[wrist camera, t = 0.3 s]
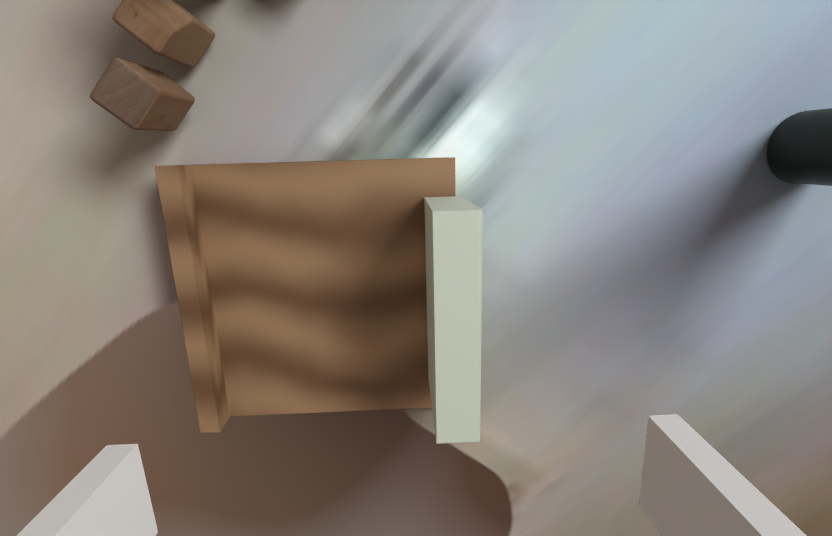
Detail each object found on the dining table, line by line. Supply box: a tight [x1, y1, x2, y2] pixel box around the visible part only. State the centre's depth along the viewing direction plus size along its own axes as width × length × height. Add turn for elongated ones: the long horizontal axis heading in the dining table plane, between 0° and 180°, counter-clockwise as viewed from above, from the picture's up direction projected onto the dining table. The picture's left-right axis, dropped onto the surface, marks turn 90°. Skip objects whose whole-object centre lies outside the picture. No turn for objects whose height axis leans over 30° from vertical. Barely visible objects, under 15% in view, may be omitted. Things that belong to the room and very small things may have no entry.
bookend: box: [424, 196, 483, 443], centre depth 33 cm, size 16×3×9 cm, turn 2°
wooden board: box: [155, 158, 455, 433], centre depth 36 cm, size 22×22×4 cm
